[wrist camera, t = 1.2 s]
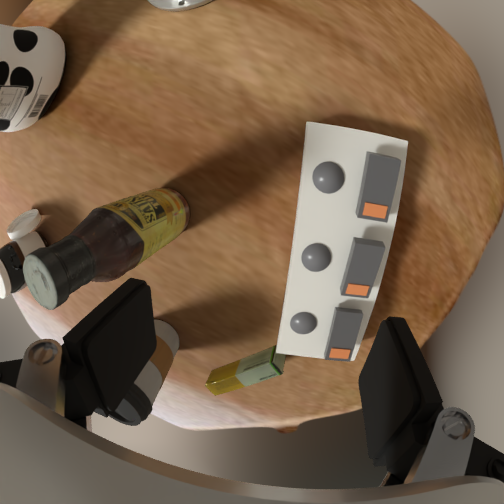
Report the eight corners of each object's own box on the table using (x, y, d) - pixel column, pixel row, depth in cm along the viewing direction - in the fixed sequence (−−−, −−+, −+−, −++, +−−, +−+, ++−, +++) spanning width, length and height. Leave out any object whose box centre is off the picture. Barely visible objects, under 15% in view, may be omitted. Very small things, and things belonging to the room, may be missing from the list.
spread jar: (39, 278, 41) (-2, 307, 30) (15, 227, 38) (-29, 247, 27) (68, 257, 38) (18, 289, 27) (41, 197, 35) (-13, 216, 24)
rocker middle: (353, 236, 25) (355, 243, 24) (382, 241, 24) (386, 248, 23) (339, 288, 28) (340, 296, 27) (366, 291, 27) (368, 299, 26)
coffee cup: (156, 359, 41) (114, 426, 28) (128, 318, 39) (73, 381, 25) (197, 351, 39) (158, 429, 25) (168, 306, 37) (112, 379, 23)
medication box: (277, 342, 36) (273, 361, 33) (287, 355, 37) (284, 374, 33) (211, 368, 40) (203, 386, 37) (221, 380, 41) (215, 397, 37)
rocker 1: (335, 306, 29) (336, 311, 27) (361, 309, 28) (363, 314, 27) (323, 354, 30) (324, 360, 29) (348, 356, 29) (350, 362, 28)
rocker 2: (366, 151, 22) (370, 153, 21) (397, 157, 21) (401, 160, 20) (355, 212, 25) (357, 218, 24) (384, 217, 24) (387, 223, 23)
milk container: (27, 44, 25) (-46, 37, 8) (87, 22, 24) (-1, -5, 7) (9, 131, 31) (-67, 145, 15) (62, 128, 30) (-40, 140, 13)
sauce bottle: (196, 192, 31) (73, 257, 12) (187, 242, 33) (82, 343, 15) (147, 180, 31) (10, 227, 13) (141, 228, 33) (22, 304, 15)
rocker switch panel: (305, 124, 26) (306, 121, 23) (396, 141, 25) (408, 141, 22) (278, 335, 36) (275, 353, 32) (350, 343, 35) (354, 361, 31)
